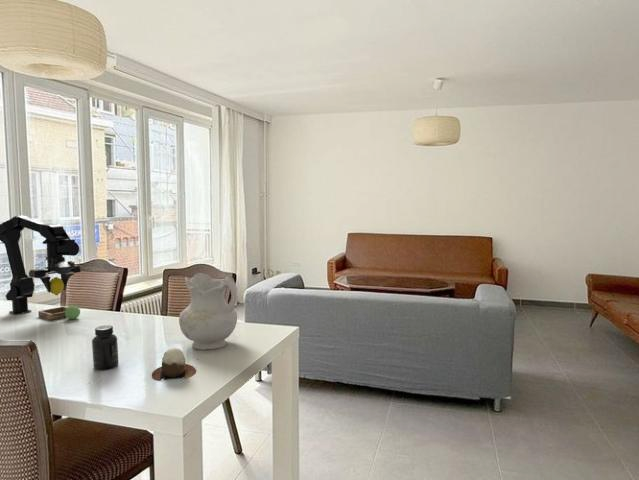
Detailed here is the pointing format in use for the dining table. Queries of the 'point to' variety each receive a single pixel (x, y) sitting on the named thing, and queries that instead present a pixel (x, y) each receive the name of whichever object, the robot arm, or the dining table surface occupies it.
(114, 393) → the dining table surface
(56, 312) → the walnut tray
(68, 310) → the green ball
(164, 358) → the brown brimmed hat
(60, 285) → the lemon
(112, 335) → the supplement bottle
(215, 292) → the ceramic pitcher
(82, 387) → the dining table surface
